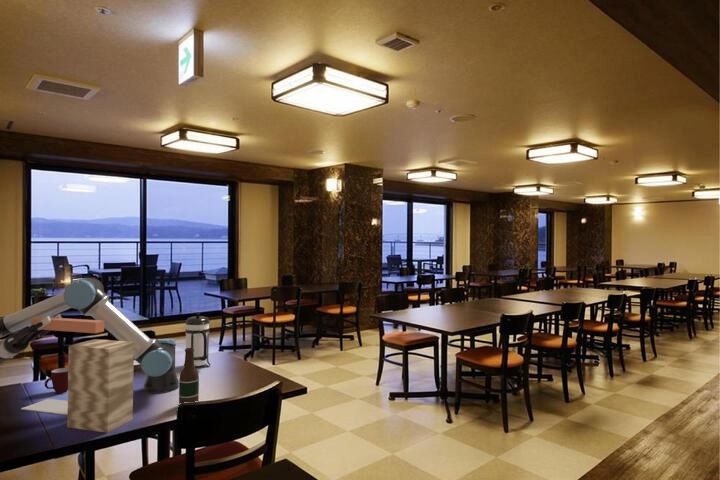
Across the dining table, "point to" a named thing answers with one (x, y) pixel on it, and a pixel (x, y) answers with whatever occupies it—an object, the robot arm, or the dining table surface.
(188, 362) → the beer bottle
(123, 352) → the stand
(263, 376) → the dining table surface
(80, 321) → the pink long bar
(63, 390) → the mug
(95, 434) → the dining table surface
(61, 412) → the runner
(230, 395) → the dining table surface
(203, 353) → the coffee press
